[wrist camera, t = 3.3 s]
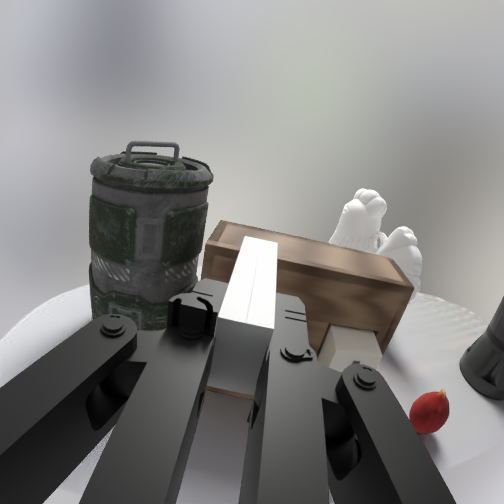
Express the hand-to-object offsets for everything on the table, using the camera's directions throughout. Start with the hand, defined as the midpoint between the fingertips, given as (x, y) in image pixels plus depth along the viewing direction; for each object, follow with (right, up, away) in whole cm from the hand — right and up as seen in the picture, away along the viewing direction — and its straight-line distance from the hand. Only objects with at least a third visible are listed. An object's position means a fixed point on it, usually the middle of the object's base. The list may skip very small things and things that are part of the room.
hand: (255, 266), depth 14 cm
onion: (+23, -25, +20) cm, 39 cm away
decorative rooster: (+20, -12, +49) cm, 54 cm away
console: (+3, -17, +27) cm, 32 cm away
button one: (+10, -13, +18) cm, 24 cm away
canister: (-17, -11, +32) cm, 38 cm away
